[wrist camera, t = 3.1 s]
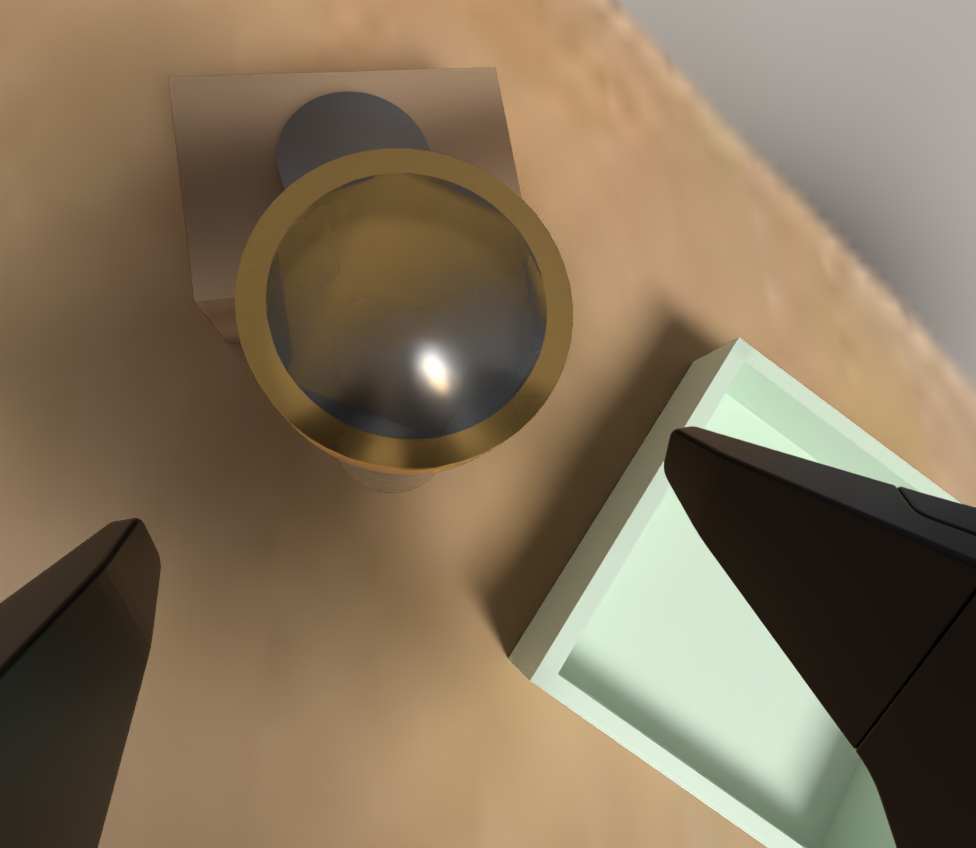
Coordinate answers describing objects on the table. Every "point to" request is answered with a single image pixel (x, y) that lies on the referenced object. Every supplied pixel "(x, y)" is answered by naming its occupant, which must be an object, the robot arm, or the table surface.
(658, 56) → the table surface
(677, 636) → the green tray
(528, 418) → the grey metal cylinder
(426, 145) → the block
